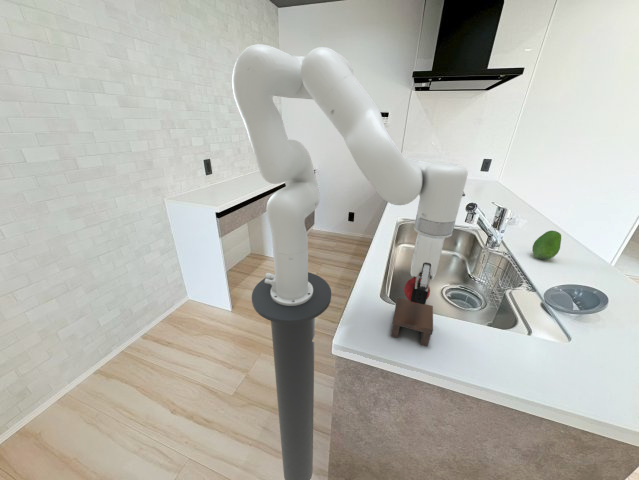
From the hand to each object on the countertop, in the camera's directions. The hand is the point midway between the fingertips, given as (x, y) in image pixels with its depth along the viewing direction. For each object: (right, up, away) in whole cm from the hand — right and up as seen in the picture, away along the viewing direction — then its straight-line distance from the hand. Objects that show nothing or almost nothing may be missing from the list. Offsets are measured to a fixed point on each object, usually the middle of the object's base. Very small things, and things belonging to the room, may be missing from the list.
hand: (418, 293), depth 62 cm
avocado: (+64, +5, +40) cm, 76 cm away
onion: (0, -3, +2) cm, 3 cm away
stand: (0, -10, +5) cm, 11 cm away
